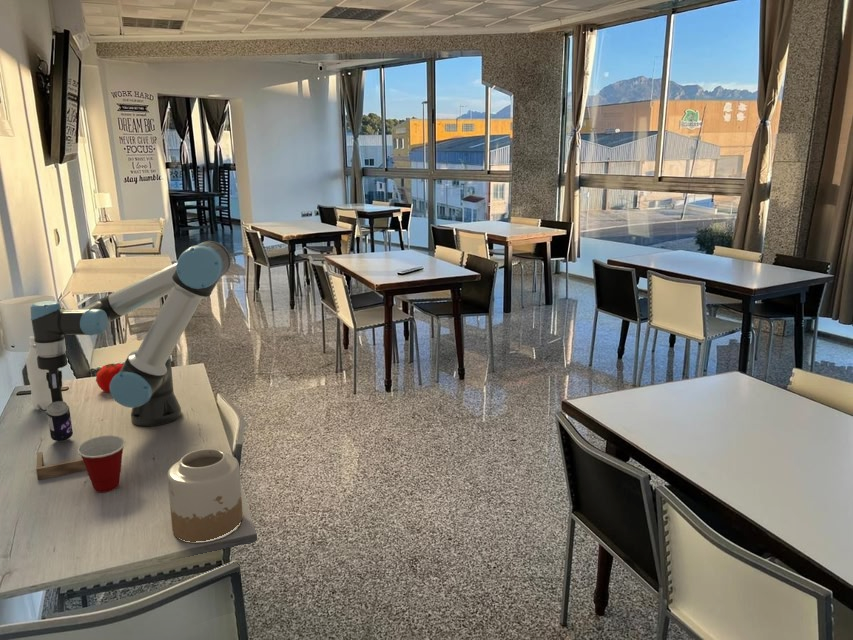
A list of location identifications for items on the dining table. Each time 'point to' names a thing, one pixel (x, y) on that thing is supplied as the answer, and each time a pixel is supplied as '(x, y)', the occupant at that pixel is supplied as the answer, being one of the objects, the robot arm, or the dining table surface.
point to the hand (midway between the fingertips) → (61, 427)
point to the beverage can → (59, 421)
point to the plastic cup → (103, 461)
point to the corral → (57, 467)
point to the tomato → (107, 375)
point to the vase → (204, 495)
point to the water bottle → (37, 380)
